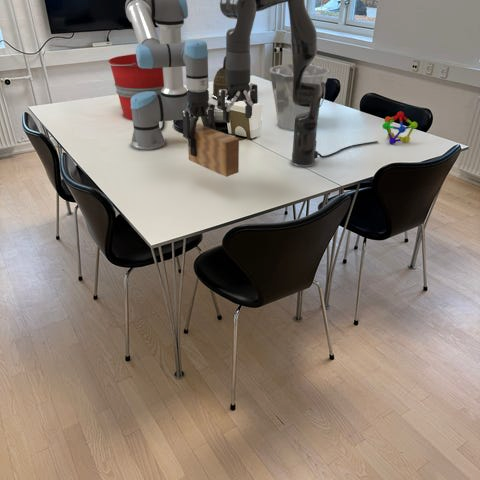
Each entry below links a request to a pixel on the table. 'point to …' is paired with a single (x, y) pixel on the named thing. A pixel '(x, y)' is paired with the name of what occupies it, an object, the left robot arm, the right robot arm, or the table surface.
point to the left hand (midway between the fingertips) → (200, 152)
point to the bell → (220, 79)
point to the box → (216, 151)
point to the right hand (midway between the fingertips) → (237, 120)
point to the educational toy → (398, 128)
